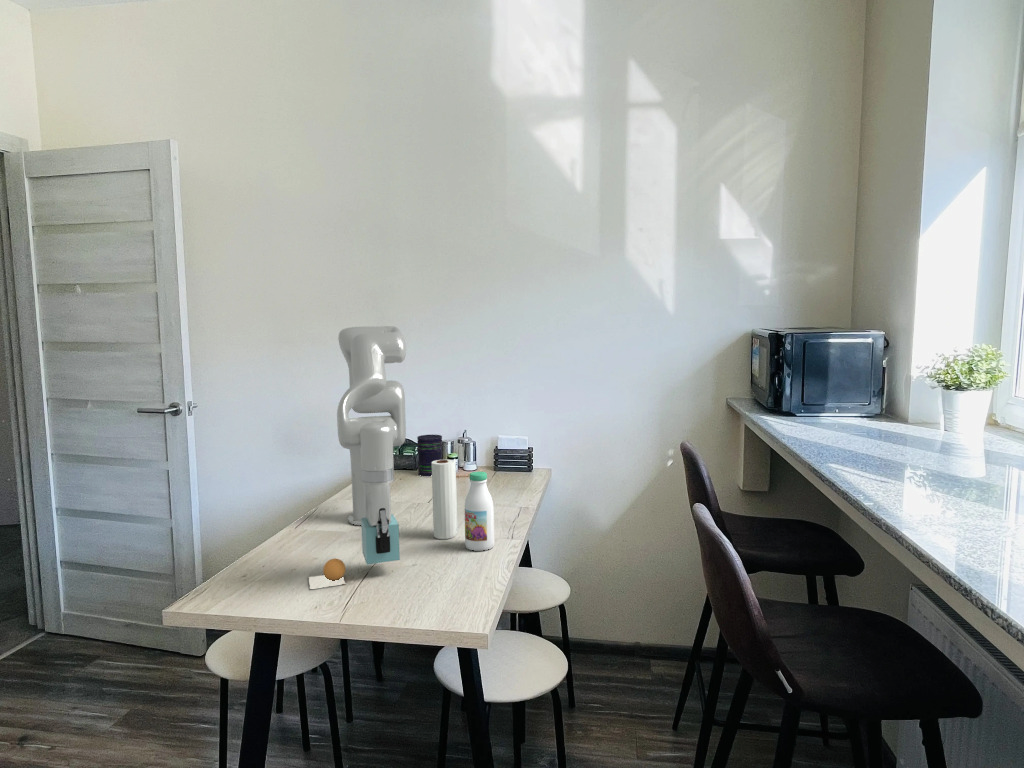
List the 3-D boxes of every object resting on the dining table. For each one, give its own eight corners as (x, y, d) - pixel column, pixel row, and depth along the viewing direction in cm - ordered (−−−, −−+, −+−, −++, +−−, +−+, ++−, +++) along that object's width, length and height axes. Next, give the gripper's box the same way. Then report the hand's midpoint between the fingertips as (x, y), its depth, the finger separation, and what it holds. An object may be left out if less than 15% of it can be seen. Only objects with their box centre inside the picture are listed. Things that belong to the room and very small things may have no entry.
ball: (332, 551, 154) (348, 563, 156) (317, 568, 153) (334, 580, 155) (334, 558, 150) (351, 570, 151) (319, 576, 149) (336, 588, 150)
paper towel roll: (435, 540, 178) (433, 464, 176) (432, 534, 184) (429, 459, 182) (461, 538, 180) (459, 462, 178) (457, 531, 186) (455, 457, 184)
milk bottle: (478, 540, 178) (477, 468, 177) (500, 545, 174) (498, 472, 172) (459, 547, 173) (457, 473, 171) (480, 554, 168) (479, 477, 166)
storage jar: (413, 476, 254) (412, 438, 252) (424, 470, 263) (423, 434, 262) (437, 477, 251) (435, 439, 249) (447, 471, 260) (446, 435, 258)
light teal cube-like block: (362, 552, 159) (361, 518, 158) (394, 548, 162) (392, 514, 161) (366, 564, 152) (365, 528, 151) (399, 559, 154) (398, 524, 153)
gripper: (357, 467, 161) (359, 536, 163) (366, 486, 145) (369, 562, 147) (387, 465, 164) (389, 532, 166) (400, 482, 147) (402, 557, 150)
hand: (380, 545), depth 156 cm, fingers closed on light teal cube-like block, 7 cm apart
